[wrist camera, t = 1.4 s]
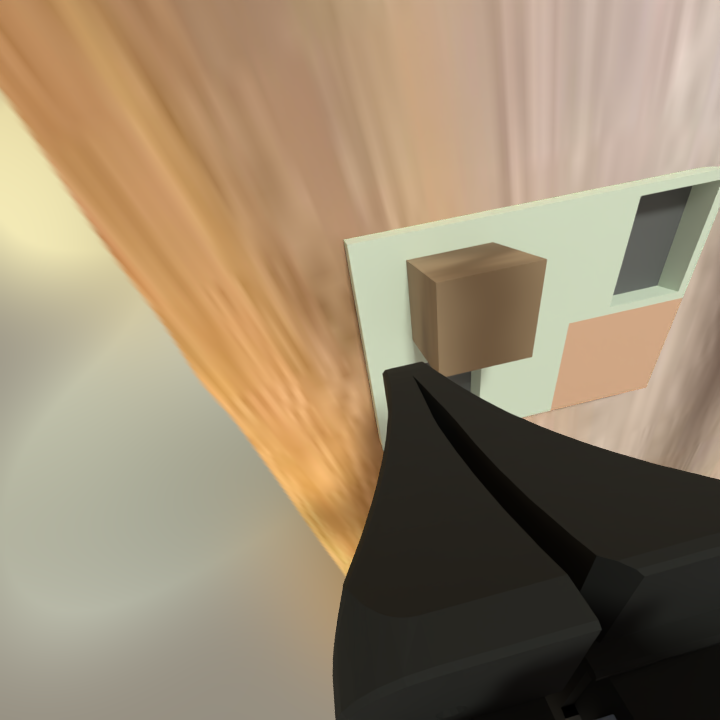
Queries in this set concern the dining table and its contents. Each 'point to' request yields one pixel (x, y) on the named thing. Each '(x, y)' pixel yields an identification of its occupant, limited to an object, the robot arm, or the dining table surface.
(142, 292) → the dining table surface
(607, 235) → the board
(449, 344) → the block
